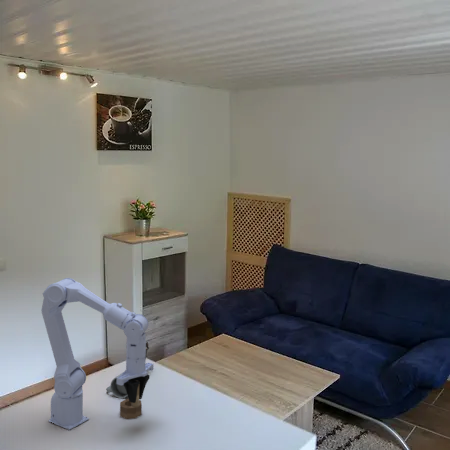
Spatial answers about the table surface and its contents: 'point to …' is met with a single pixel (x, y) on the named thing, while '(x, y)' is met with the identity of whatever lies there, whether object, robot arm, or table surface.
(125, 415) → the bead
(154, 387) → the table surface
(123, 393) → the ceramic mug
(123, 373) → the robot arm
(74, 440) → the table surface
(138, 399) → the dowel
